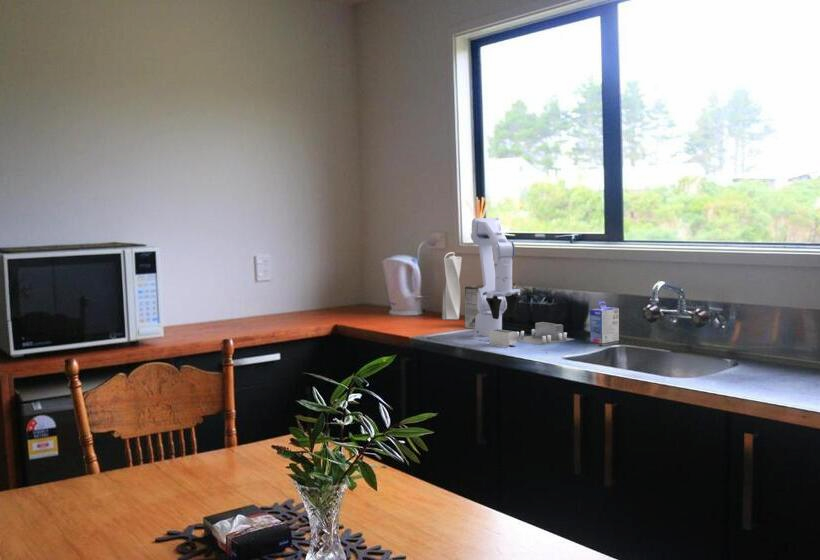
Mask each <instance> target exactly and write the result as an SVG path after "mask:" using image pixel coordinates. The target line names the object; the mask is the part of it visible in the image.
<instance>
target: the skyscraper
mask: <svg viewBox="0 0 820 560" xmlns="http://www.w3.org/2000/svg"><path fill="white" fill-rule="evenodd" d="M450 254H453V255H452V256H448V255H450ZM455 254H456V253H455V252H454V251H451V252H448V253H446V254H445V256H444V258H443V261H444V272H445V278H446V282H445V291H444V293H443V294H442V304H441V305H442V307H441V308H442V309H441V320H442V321H459V319H460V313H461V285H460V284H461V283H460V277H461V269H462V260H463V259H462V257H461V256H456V255H455ZM447 256H448V257H447Z"/></svg>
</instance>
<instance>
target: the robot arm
mask: <svg viewBox="0 0 820 560" xmlns="http://www.w3.org/2000/svg"><path fill="white" fill-rule="evenodd" d="M501 230H502V222H501V219H500V218H499V217H495V218H494V217H493V218H492V217H488V218H487V217H486V218H485V217H483V218H482V217H481V218H480V217H478V218H477V217H474V218H473V219H472V222H471V235H472V236H471V237H472V240H473V243H475V244H476V245H477V247H478V251H479V260H480V267H481V268H480V269H481V276H482V285H484V287H483V288H481V289H480V290H479V291H478V294H477V308H478V310H479V312H480V313H478V314H477V316H476V318H475V329H474V335H473V337H479V336H480V337H481V336H483V337H489V332H490V330H494V329H501V330H503V314H504V313H505V312H506V310H507V316H508V317H511V318H514V316H515V314H516V310H517V307H518V304H519V303H520V301H521V298H522V296H521V289H520V288H519V289H518V288H513V259H514V258H515V257H516V256H515V254H516V247H515V243H514V242H513V241H508V239H507V237H506V235H505V234H504V232H502V231H501Z"/></svg>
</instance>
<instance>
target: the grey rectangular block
mask: <svg viewBox="0 0 820 560" xmlns="http://www.w3.org/2000/svg"><path fill="white" fill-rule="evenodd" d="M517 332H518V331H513V330H506V329H502V330H501V329H494V330H490V332H489V339H488V340H489V341H488V342H489V343H488V344H489V345H491V344H493V345H492V346H497V345H499V346H498V347H502V346H506V347H505V348H508V347H510V348H514V347H513V346H514V345H515V344H518V341H517Z"/></svg>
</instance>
